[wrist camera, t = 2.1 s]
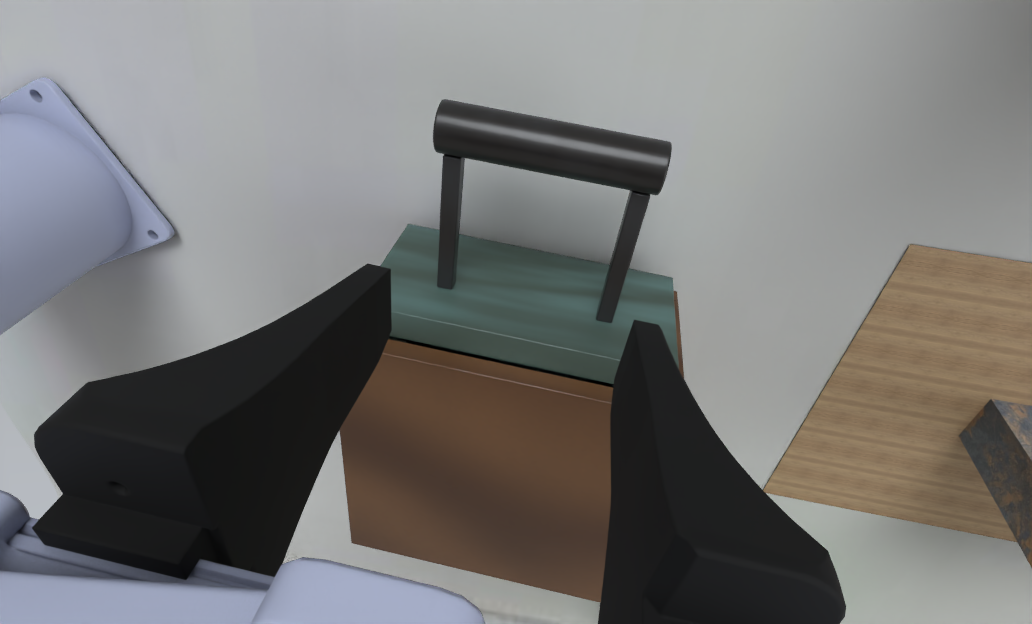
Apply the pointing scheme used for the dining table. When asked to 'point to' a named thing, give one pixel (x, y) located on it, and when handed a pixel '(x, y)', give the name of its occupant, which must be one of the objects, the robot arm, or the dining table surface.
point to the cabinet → (483, 467)
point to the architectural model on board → (1008, 471)
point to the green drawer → (531, 254)
